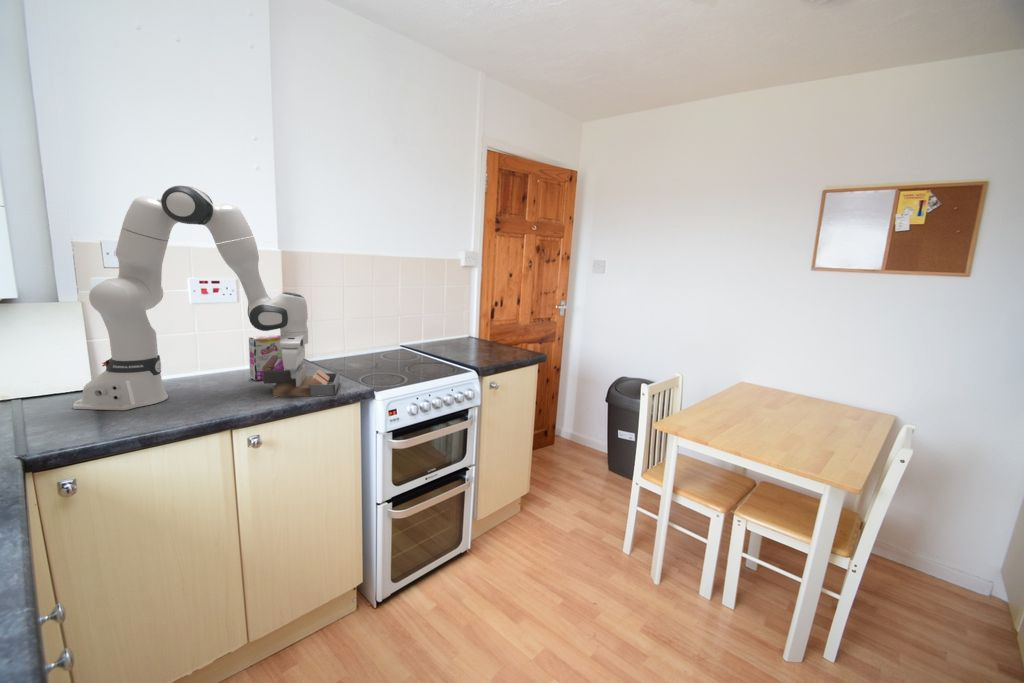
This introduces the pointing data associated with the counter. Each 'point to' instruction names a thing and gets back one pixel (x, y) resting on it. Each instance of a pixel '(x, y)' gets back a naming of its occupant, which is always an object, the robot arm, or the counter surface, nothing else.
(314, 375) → the tile
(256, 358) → the candy bar box
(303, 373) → the scraper
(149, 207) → the robot arm
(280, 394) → the board
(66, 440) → the counter surface
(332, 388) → the tray
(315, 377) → the tile
